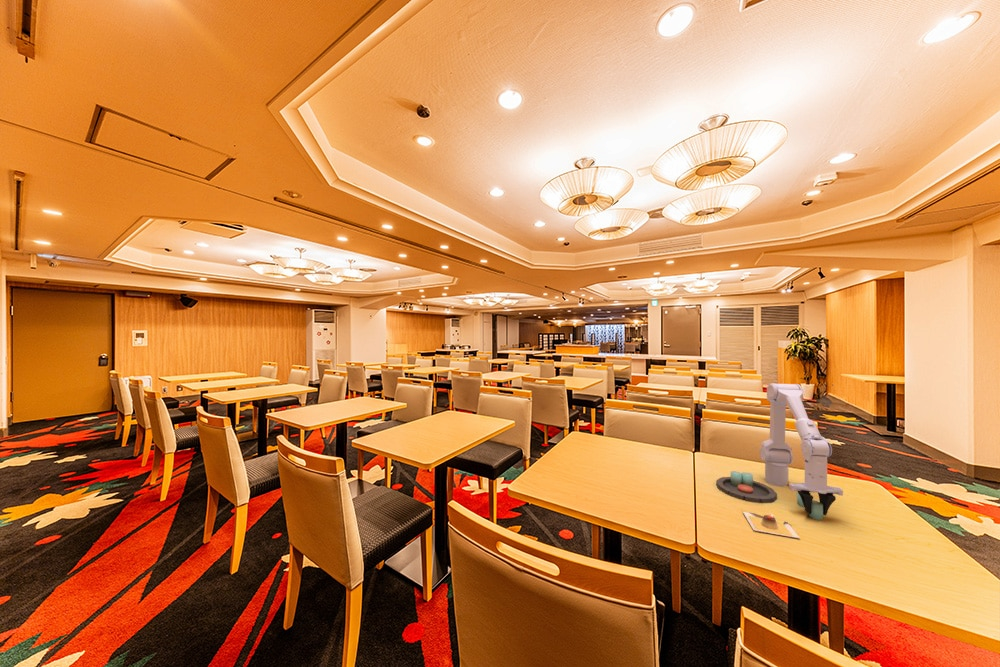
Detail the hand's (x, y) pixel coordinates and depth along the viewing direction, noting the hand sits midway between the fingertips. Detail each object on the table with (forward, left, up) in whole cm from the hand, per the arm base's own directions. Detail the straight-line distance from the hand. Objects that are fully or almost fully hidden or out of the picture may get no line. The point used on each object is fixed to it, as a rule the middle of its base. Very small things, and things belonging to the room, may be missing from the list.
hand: (815, 513), depth 119 cm
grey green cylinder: (0, 0, -1) cm, 1 cm away
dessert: (+19, -8, -2) cm, 21 cm away
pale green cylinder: (-6, -22, 0) cm, 23 cm away
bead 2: (-5, -4, -2) cm, 7 cm away
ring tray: (-1, -21, -1) cm, 21 cm away
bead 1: (-4, -25, 0) cm, 25 cm away
